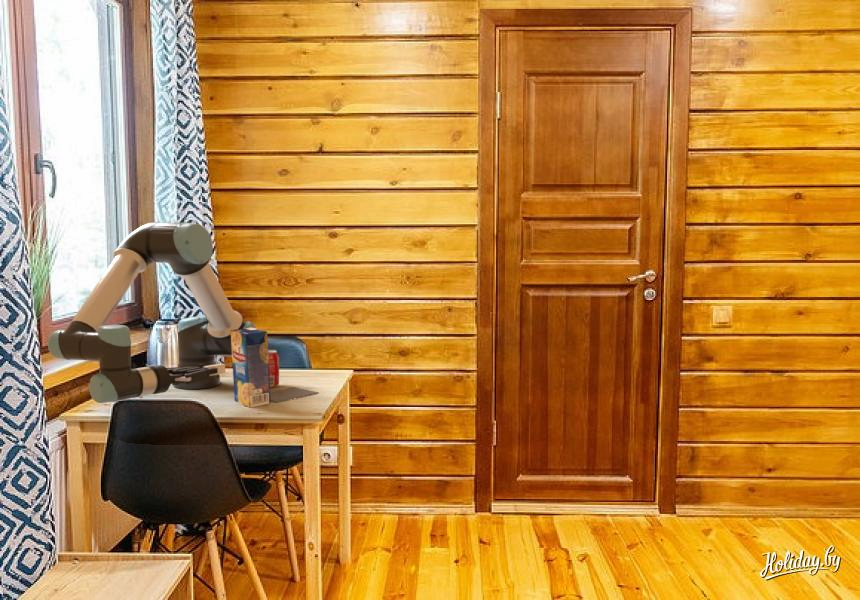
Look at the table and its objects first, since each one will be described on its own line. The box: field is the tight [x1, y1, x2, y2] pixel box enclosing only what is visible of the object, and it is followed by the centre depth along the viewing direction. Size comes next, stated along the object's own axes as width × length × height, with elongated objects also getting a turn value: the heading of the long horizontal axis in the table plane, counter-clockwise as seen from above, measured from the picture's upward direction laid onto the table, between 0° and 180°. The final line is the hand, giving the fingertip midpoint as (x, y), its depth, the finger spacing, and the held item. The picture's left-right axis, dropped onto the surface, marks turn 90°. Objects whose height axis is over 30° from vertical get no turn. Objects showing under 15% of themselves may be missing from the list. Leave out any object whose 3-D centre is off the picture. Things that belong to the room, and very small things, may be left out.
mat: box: [270, 387, 320, 404], centre depth 238 cm, size 12×18×1 cm
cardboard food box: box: [231, 327, 272, 408], centre depth 226 cm, size 7×11×22 cm, turn 38°
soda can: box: [268, 349, 280, 389], centre depth 249 cm, size 7×7×12 cm
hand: (223, 368), depth 218 cm, fingers closed
